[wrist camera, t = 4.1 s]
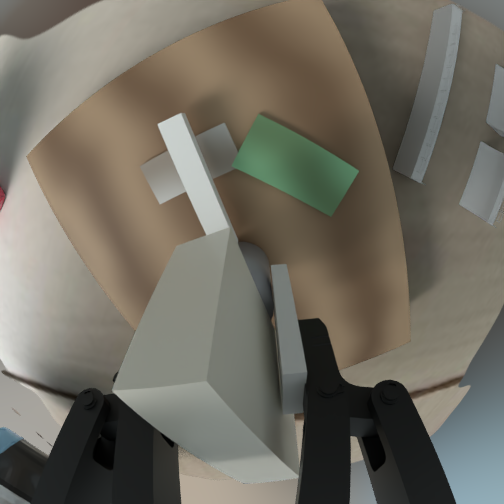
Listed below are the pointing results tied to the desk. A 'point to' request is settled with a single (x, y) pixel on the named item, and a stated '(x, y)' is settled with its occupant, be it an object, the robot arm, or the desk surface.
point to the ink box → (1, 197)
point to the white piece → (212, 342)
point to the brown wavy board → (242, 172)
